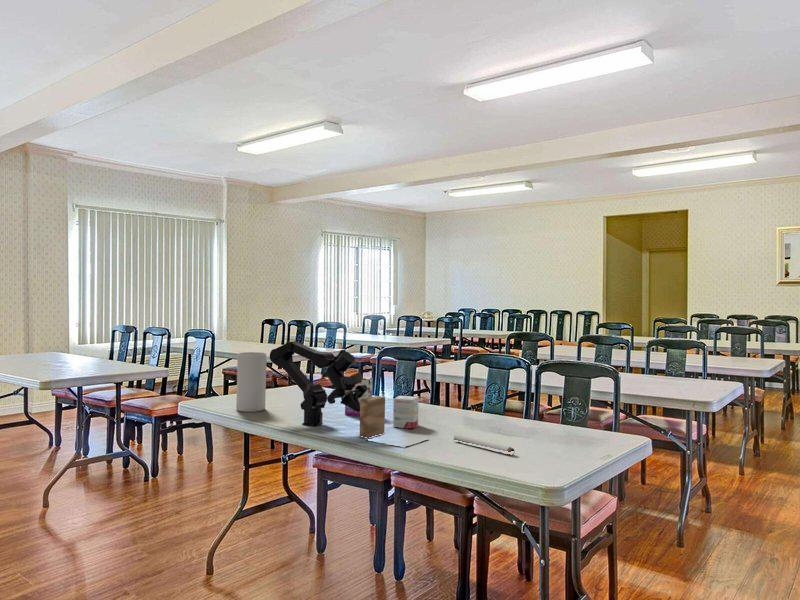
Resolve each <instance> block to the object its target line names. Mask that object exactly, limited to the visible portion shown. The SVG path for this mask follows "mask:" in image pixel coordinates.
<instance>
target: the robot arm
mask: <svg viewBox="0 0 800 600" xmlns="http://www.w3.org/2000/svg"><path fill="white" fill-rule="evenodd" d="M295 354H296V355H299V356H300V357H303V358H304V359H306V360H309V361H310V362H312V364H313V365H314V366H315V367H317V368H318V369H326V370H322V374H321V378H322V379H326V378H328V380H329V382H330V383H331V389H333V390H332V391H331V392H330V393H329V394H327V392H326V391H327V390H326V389H324V387H323V386H322V385H321V383H318V384H313V383H312V382H311V381H310V379H309V378H308V377H307V376H306V375H305V373H303V371H302V370H301V369H300V368H299V367H298V366H297V364H296V363H295V362H294V359H293V356H294V355H295ZM269 360H270V362H272V363H273V364H274V365H275V366H277V367H279V368H282V369H283V370H284V371H285V372H286V374H287V375H288V377H290V378H291V379H292V381H293V382H294V383H295V384H296V386H297V387H299V390H301V391H302V394H303V399H304V400H303V401H302V402H301V403H300V409H301V410H303V422H302V423H301V425H302V426H313V427H317V426H320V425H321V424H323V423H324V422H323V415H324V414H323V411H322V409H324V408H325V407H326V403H327V402H328V404H329V405H332V404H333V405H334V404H335V403H336V399H340V398H341V399H340V404H342V405H346V406H348V407H350V408H352V409H353V410H355V411H357V412H360V404H359V400H358V398H360V397H362V395H363V394H364V393H365V392H366V391H367V390H368V388H367V386H366V385H358V386H357V387H356V388H355V389H354V390H353V388H354V387H355V386H356V385H355V384H357V383H359V382H362V380H363V377H364V376H363V374H362V373H361V372H360V371H359V372H355V373H353V374H352V375H349V376H346V375H344V373H343V372H347V371H348V370H349V368H350V367H351V366H352V365H353V364H354V363H355V360H356V358H355V356H354V355H353V354H352V353H350V352H349V351H346V349H341V350H340V351H339V352H338V353H337V355H336V356H335V354H334V353H332V352H327V351H322V350H321V351H320V350H316V349H314V348H312V347H309V346H307V345H306V344H305V345H304V344H303V343H301V342H299V341H297V340H291V341H287V342H286V343H284V344H282V345H279V346H277V347H276V348H273V349H271V351H270V352H269Z"/></svg>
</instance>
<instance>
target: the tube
mask: <svg viewBox="0 0 800 600" xmlns="http://www.w3.org/2000/svg"><path fill="white" fill-rule="evenodd" d="M454 440H458V441H462V442H466V443H472V444H476V445H481V446H485V447H490V448H494V449H498V450H503V451H508V452H511V451H514V452H515V449H514V448H513V447H511V446H508V445H504V444H500V443H496V442H492V441H488V440H484V439H480V438H475V437H471V436H467V435H463V434H460V433H456V434H454V436H453V441H454Z"/></svg>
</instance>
